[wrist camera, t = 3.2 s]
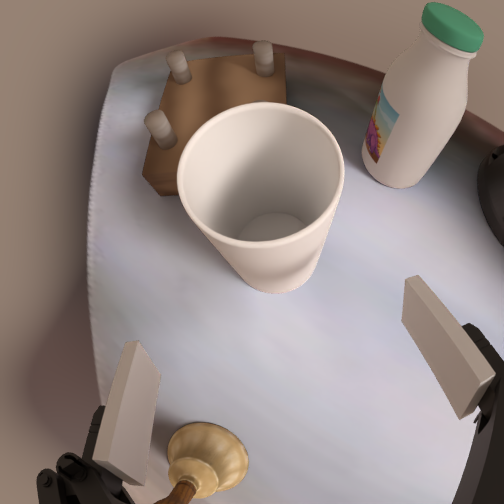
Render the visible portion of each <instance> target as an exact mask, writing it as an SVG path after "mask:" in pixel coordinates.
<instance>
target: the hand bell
mask: <svg viewBox="0 0 504 504" xmlns="http://www.w3.org/2000/svg"><path fill="white" fill-rule="evenodd" d="M168 459H169V463H170V467H169V471H168V475H169V480H170V482H171V484H172V485H173V487H174V489H173V490H172V492H171V493H170V495H169V496H168V497H166V498H164V499H162V500H159V501H157V502H156V503H154V504H188V503H189V502H190V501H191V499H192V498H205V497H208V496H210V495H212V494H213V493H214V492H219V491H225V490H228V489H230V488H233V487H234V486H236V485H237V484H239V483H240V482H241V481H242V480H243V478H244V477H245V475H246V473H247V470H248V464H249V459H248V454H247V451H246V449H245V447H244V445H243V444H242V442H241V441H240V440H239V439H238V438H237V437H236V436H235V435H234V434H233V433H232V432H230V431H228V430H227V429H225V428H223V427H221V426H218V425H215V424H210V423H193V424H189V425H186V426H184V427H182V428H180V429H179V430H178V431H176V432H175V433H174V435H173V436H172V437H171V439H170V441H169V444H168Z"/></svg>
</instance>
